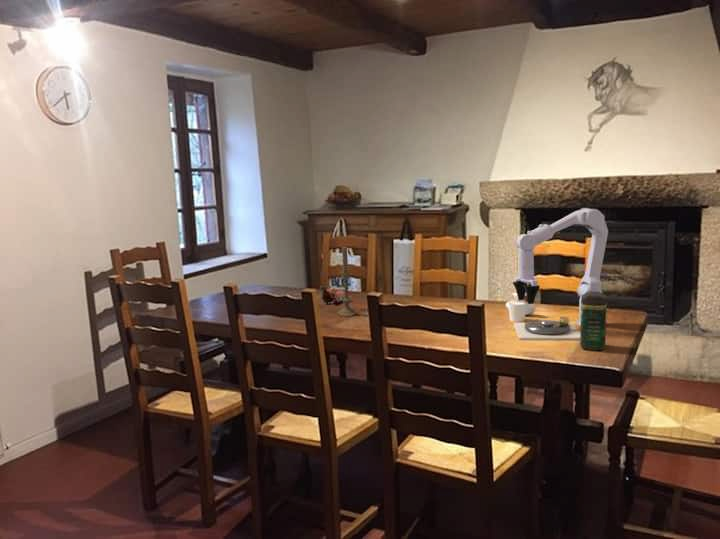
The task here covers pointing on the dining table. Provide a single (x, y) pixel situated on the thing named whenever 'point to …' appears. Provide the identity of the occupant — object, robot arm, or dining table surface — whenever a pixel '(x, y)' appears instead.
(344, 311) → the candlestick holder
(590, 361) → the dining table surface
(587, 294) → the coffee jar
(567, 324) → the handwheel
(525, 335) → the wheel base
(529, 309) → the bust
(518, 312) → the white cylinder
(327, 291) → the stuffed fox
